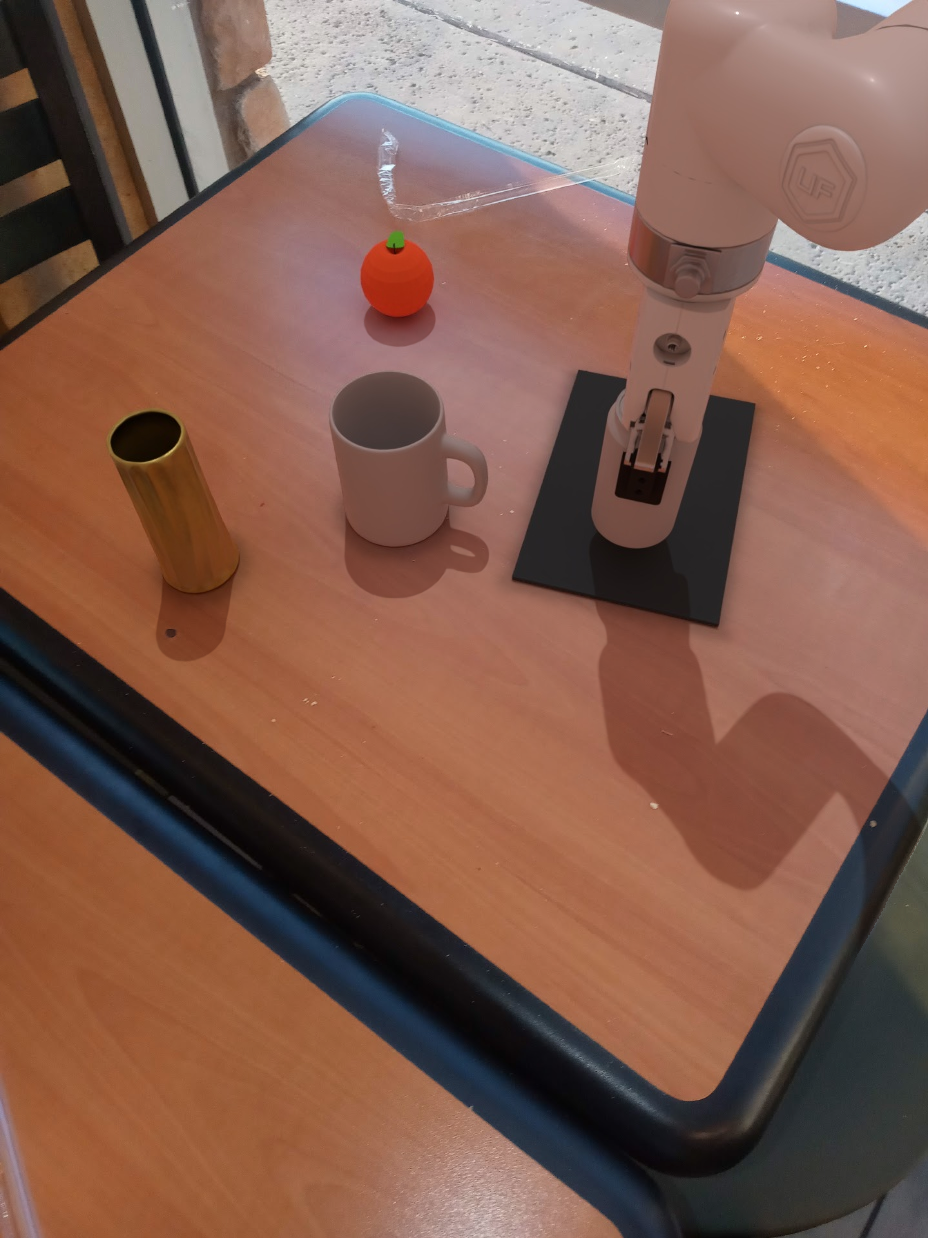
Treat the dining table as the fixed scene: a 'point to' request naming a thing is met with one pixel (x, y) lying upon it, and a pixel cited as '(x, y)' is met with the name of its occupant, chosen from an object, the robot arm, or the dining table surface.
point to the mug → (398, 458)
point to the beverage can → (631, 518)
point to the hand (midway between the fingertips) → (647, 459)
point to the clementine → (397, 276)
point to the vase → (172, 499)
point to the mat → (652, 576)
